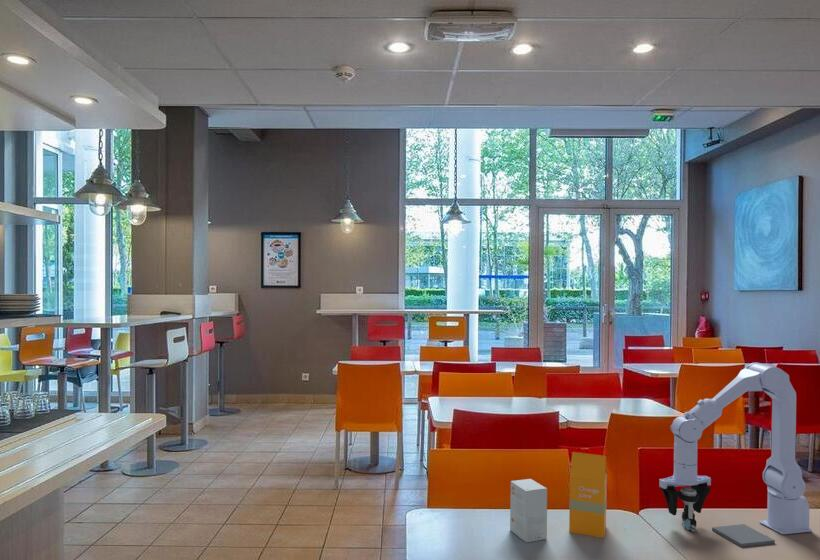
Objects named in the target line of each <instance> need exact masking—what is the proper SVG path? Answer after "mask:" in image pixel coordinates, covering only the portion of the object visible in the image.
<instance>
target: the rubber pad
mask: <svg viewBox="0 0 820 560" xmlns="http://www.w3.org/2000/svg"><path fill="white" fill-rule="evenodd" d="M711 530H712V531H713V532H715V533H716V534H718V535H719V536H721V537H723V538H724V539H727V541H730V542H732V543H733V544H735V545H737V546H738V547H740V548H743V547H745V548H747V547H753V546H754V547H755V546H762V545H763V546H764V545H765V546H766V545H772V544H773V545H774V544H775V542H776V541H775V539H773V538H771V537H770V536H768V535H766V534H764V533H763V532H760V531H758V530H756V529H754V528H752V527H751V526H749V525H746V524H743V523H742V524H733V525H732V524H731V525H722V526H713V527H711Z"/></svg>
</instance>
